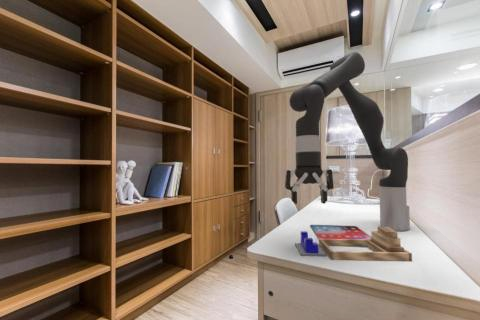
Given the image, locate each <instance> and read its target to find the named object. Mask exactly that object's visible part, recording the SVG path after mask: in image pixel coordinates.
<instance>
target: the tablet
mask: <svg viewBox="0 0 480 320" xmlns="http://www.w3.org/2000/svg"><path fill="white" fill-rule="evenodd" d="M309 227H310V228H311V230H312V232H313V233H314V235H315V236H316V237H317V239H318V240H319V239H371V236H370V235H369V234H368V233H367V232H365V231H364V230H362V228H359V226H357V225H339V224H338V225H337V224H336V225H331V224H309ZM343 247H346V248H348V247H349V248H350V247H351V248H368V247H367V246H343Z"/></svg>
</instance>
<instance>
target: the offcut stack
mask: <svg viewBox="0 0 480 320" xmlns="http://www.w3.org/2000/svg"><path fill="white" fill-rule="evenodd" d="M370 233H371V234H370V235H371V236H370V237H371V242H373V243H374V244H376V245H377V246H379V247H381V248H382V249H384V250H385V251H387V252H404V250H405V247H403V246H401V245H402V244H401V238H400V237H399V236H398V231H394V230H393V229H391V228H389V227H380V226H377V230H375V231H373V230H372V231H370Z"/></svg>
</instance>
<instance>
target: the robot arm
mask: <svg viewBox="0 0 480 320" xmlns="http://www.w3.org/2000/svg"><path fill="white" fill-rule="evenodd" d="M365 64H366V63H365V60H364V57H363V56H362V55H361V54H360V53H359V52H357V51H353V52H350V53H348V54H346V55H343V56H342V57H341V58H339V59H337V60H336V61H334V62H333V63H331V64H330V67H329V70H328V71H326V72H325V73H323V74H321V75H320V76H319V77H316V78H315V79H313V81H311V82H309V83H308V84H305V85H304V86H301V87H300V88H297V89H296V90H294V91H293V92H292V94H291V95H290V97H289V106H290V108H291V109H292V110H293V111H295V112H298V113H301V112H305V113H304V115H303V116H301V117H300V118H298V119H297V120H296V121H295V146H294V147H295V150H294V152H295V169H294V170H289V169H286V170H285V179H284V181H285V183H284V188H285V189H286V190H288V191H290V192H291V194H290V195H291V202H292V203H293V204H294V205H298V191H297V190H298V188H299V187H301V185H302V184H304V185H308V184H312V185H314V184H316V185H317V186H318V187H319V188H320V189H321V190H320V203H321V204H326V203H327V202H328V191H329V190H332V189H335V188H334V175H333V170H332V169H329V168H328V169H324V170H323V168H322V155H321V154H322V151H321V150H322V147H321V146H322V145H321V139H320V121H321V117H322V112H323V109H324V104H325V99H326V98H327V97H328V96H330V95H331V94H332V93H333V92H334V91H336V90H337V89H338V90H339V91H340V93H341V94H342V96H343V97H344V99H345V101H346V103H347V105H348V107H349V109H350V111H351V112H352V116H353V118H354V120H355V122H356V124H357V126H358V128H359V129H360V131H361V133H362V136H363V137H364V141H365V142H366V144H367V147H368V149H369V152H370V155H371V158H372V160H373V163H374V165H375V166H376V168H377V169H379V170H381V171H390V172H389V175H388V176H385V177H384V178H383V177H382V178H381V179H379V181H378V182H379V183H378V185H379V220H380V221H379V223H380V226H379V227H389V228H391V229H393V230H394V231H396V232H405V231H410V230H411V223H410V222H411V221H410V220H411V219H410V215H411V214H410V206H409V205H408V204H407V201H408V200H407V181H408V178H409V177H408V174H409V173H408V172H409V171H408V170H409V169H408V168H409V156H408V153H407V151H406V149H404V148H401V147H392V148H390V147H389V148H386V147H385V145H384V143H383V141H382V132H383V128H384V124H385V123H384V119H385V118H384V116H383V113H382V111H381V109H380V107H379V105H378V103H377V102H375V100H373V99H372V98H370V97H369V96H367V95H364V94H363V93H361V92H359V91H358V90H357V89H356V88H355V87H354V85H353V84H352V83H351V80H353V79H355V78H357V77H359V76H360V75H362V74H363V72H364V71H365V67H366V65H365ZM294 175H295V176H296V180H295V181H294V183H293V185H291V180H292V179H291V178H293V176H294ZM322 176H324V177H325V181H326V185H325V183H324V181H323V180H322V179H321V177H322Z"/></svg>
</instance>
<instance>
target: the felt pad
mask: <svg viewBox="0 0 480 320" xmlns="http://www.w3.org/2000/svg"><path fill="white" fill-rule="evenodd" d="M294 245H295V247H296V249H297V251H298V254H300V256H301V257H326V256H327V254H326V253H325V251H324V250H323V249H322V248H321V247H320V246H319V245H318V253H306V252H305V250H304V249H303V247H302V245H301V242H295V243H294Z"/></svg>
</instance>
